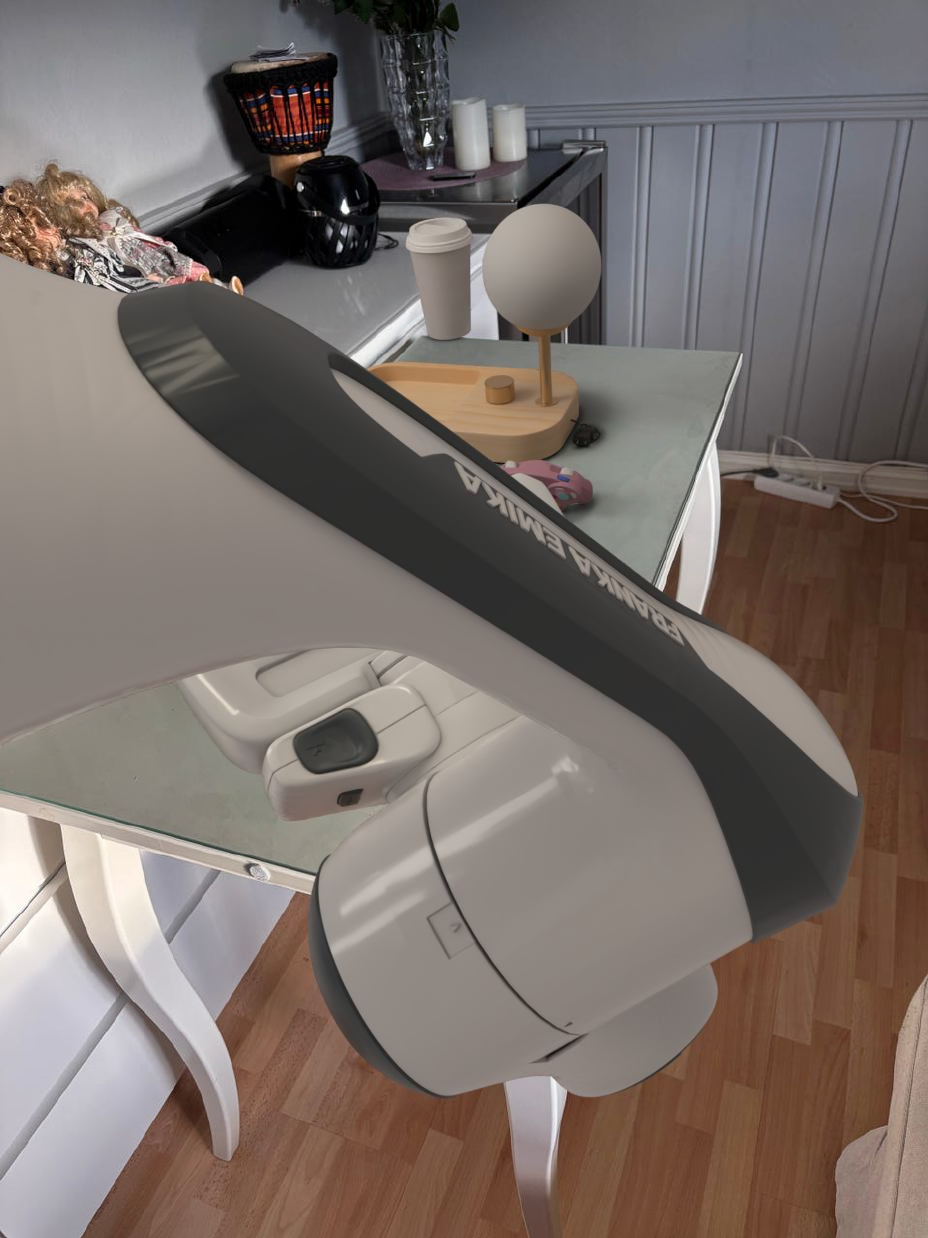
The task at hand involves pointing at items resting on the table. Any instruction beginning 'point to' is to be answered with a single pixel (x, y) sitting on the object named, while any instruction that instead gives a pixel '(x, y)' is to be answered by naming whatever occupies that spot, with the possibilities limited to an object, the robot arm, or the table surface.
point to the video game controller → (555, 480)
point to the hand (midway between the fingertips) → (310, 480)
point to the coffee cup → (443, 275)
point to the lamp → (538, 306)
